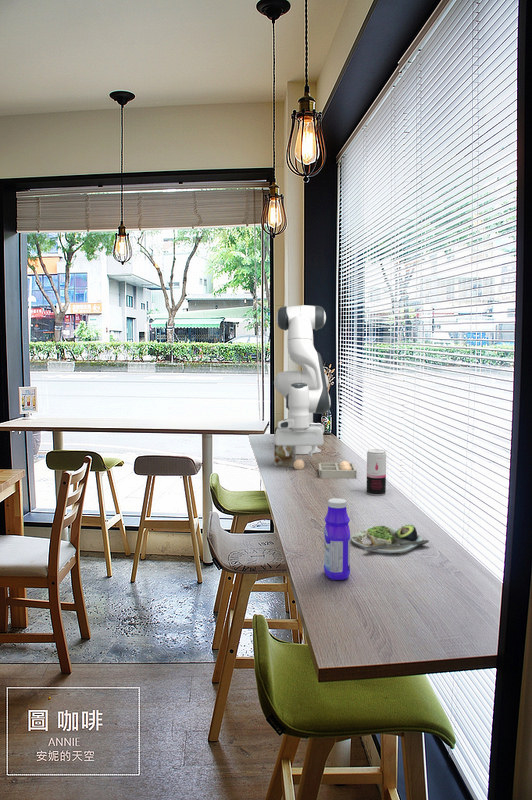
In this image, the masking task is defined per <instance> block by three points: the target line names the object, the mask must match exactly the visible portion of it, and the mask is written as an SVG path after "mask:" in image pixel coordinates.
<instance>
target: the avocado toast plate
mask: <svg viewBox="0 0 532 800" xmlns="http://www.w3.org/2000/svg"><path fill="white" fill-rule="evenodd" d="M367 536H368V537H367ZM364 537H366V538H369V537H370V538H369V539H370V542H371V544H365V543H363V541H361V540H362V538H364ZM350 542H352V543H353V545H355V546H357V547H358V548H360V549H362V548H363V550H364V551H366V552H372V553H375V552H378V553H377V554H386V553H401V554H405V553H407V552H409V550H410V551H412V550H414V548H415V549H417V548H418V547H421V546H424V545H426V544H428V543H429V542H430V540H428V539H426V540H424V538H423V537H422V536H421V535H419V534H418V532H417V529H416V527H415V526H414V525H413V524H405V525H403V526H401V527H400V528H396V527H395V528H394V527H391V526H387V525H386V526H385V525H375V526H369V527H368V528H365V529H364V530H362V531H359V532H356V533H353V534H352V535H350ZM372 544H373V545H372ZM370 545H372V546H370ZM416 547H417V548H416ZM411 549H412V550H411ZM404 552H405V553H404Z"/></svg>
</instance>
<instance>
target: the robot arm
mask: <svg viewBox="0 0 532 800" xmlns="http://www.w3.org/2000/svg"><path fill="white" fill-rule="evenodd" d="M326 314H327V313H326V312H325V309H324V307H322V306H320V305H309V304H308V305H305V304H301V305H291V306H287V305H285V306H281V307H280V308H279V309H277V313H276V317H275V321H276V324H277V326H278V328H279V329H280V330H283V331H285V332H286V331H287V341H286V342H287V353H288V354H289V358H290V360H291V362H293V363H295V364H296V365H299V366H300V367H301V368H302V369H303V370H286V371H279V372H278V373H277V374H276V375H275V377H274V381H273V385H274V388H275V389H276V391H277V392H278V393H279V394H281V395H282V396H283V398H284V399H285V407H286V409H287V410H288V414H287V418H285V419H282V420H279V421H278V422H277V427H278V428H277V430H276V433H275V432H274V441H273V443H274V445H279V446H283V449H284V451H285V452H286V456H289V452H287V450H286V446H296V455H308V457H313V454H316V453H322V449H320V448H319V446H321V447H322V446H323V445H324V442H325V441H324V433H325V425H324V424H322V423H321V422H317V423H316V422H314V414H321V415H324V414H325V413H326V412H328V411H329V410H330V408H331V404H332V403H331V397H330V394H329V390H328V388H329V383H330V382H329V381H330V380H329V377H328V375H327V374H326V373H325V367H324V363H323V358H322V354H320V352H318V351H317V350H316V347H315V345H314V333H313V332H314V331H313V330H315V332H316V331H318V330H319V329H322V328H323V327H324V326H325V324H326V321H327V315H326Z"/></svg>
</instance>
